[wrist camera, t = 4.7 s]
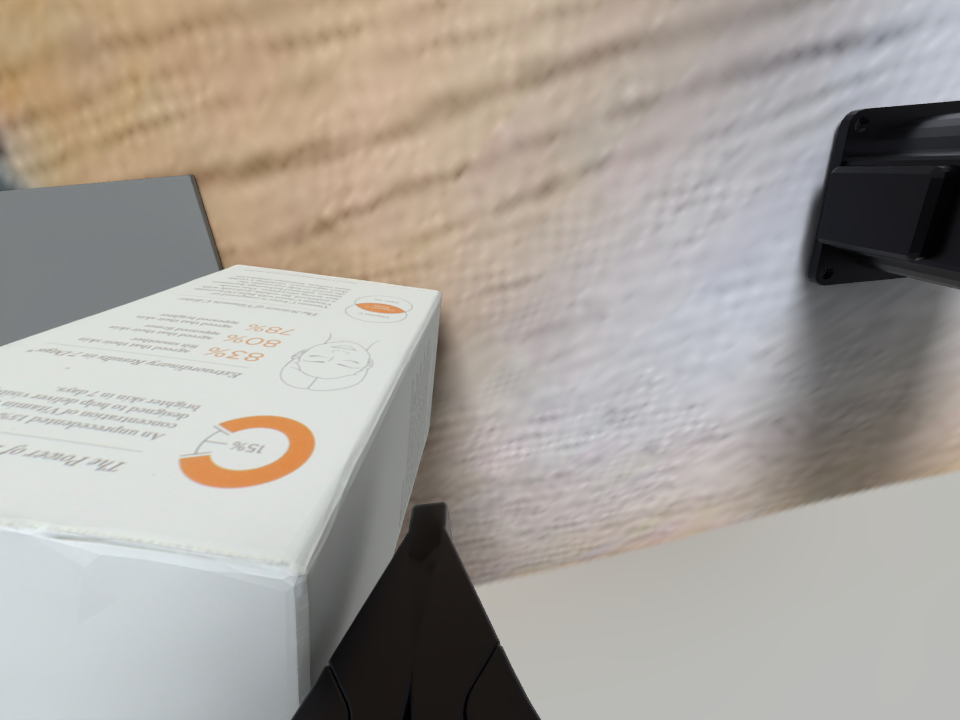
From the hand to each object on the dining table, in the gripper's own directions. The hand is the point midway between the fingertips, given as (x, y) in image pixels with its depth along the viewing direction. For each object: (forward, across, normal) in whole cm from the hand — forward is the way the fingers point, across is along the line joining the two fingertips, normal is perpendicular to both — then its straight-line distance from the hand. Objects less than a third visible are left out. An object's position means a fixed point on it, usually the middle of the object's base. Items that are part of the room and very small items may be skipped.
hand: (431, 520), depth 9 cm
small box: (+11, +4, 0) cm, 11 cm away
